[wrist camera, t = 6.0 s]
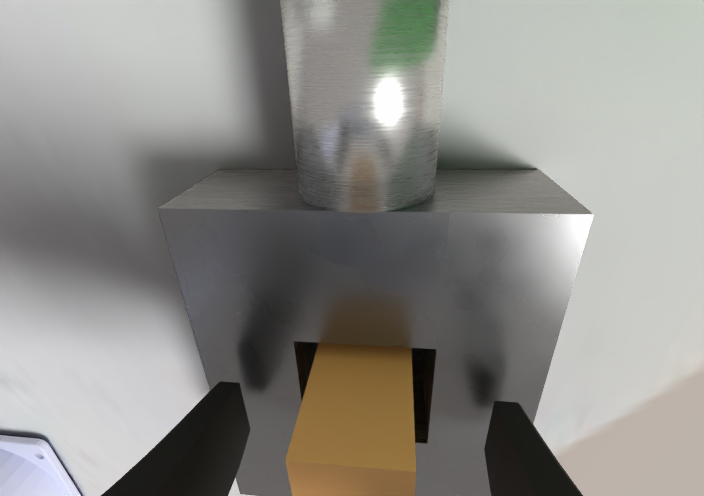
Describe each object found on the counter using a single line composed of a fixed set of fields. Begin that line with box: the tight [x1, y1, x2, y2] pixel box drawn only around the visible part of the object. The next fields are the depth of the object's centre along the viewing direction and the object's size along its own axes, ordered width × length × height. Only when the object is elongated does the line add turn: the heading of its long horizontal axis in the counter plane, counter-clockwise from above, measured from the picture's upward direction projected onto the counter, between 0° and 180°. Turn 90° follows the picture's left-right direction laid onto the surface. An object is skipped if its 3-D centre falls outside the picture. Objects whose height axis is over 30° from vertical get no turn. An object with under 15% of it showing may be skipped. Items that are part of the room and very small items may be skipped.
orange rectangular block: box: [285, 343, 416, 496], centre depth 11 cm, size 3×3×6 cm
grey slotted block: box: [157, 0, 594, 496], centre depth 12 cm, size 17×11×4 cm, turn 2°
